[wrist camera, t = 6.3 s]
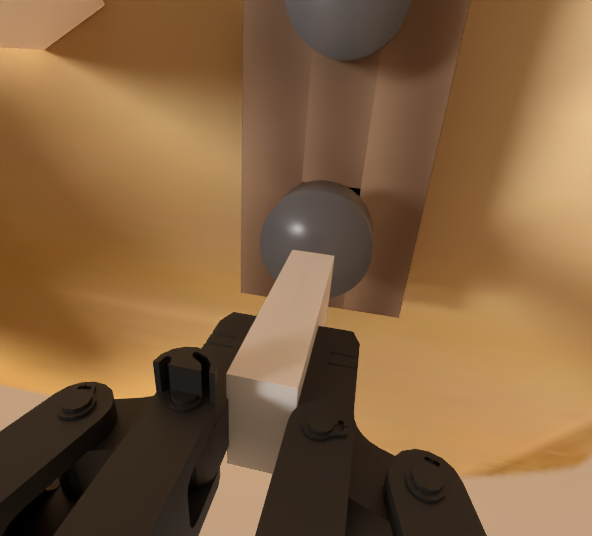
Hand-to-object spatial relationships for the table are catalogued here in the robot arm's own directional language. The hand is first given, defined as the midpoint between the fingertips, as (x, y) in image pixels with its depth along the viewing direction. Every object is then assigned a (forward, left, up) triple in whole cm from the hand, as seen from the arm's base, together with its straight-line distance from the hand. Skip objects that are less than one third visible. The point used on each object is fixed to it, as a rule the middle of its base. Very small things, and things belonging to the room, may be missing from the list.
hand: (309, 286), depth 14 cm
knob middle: (0, +10, -13) cm, 16 cm away
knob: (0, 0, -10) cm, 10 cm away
